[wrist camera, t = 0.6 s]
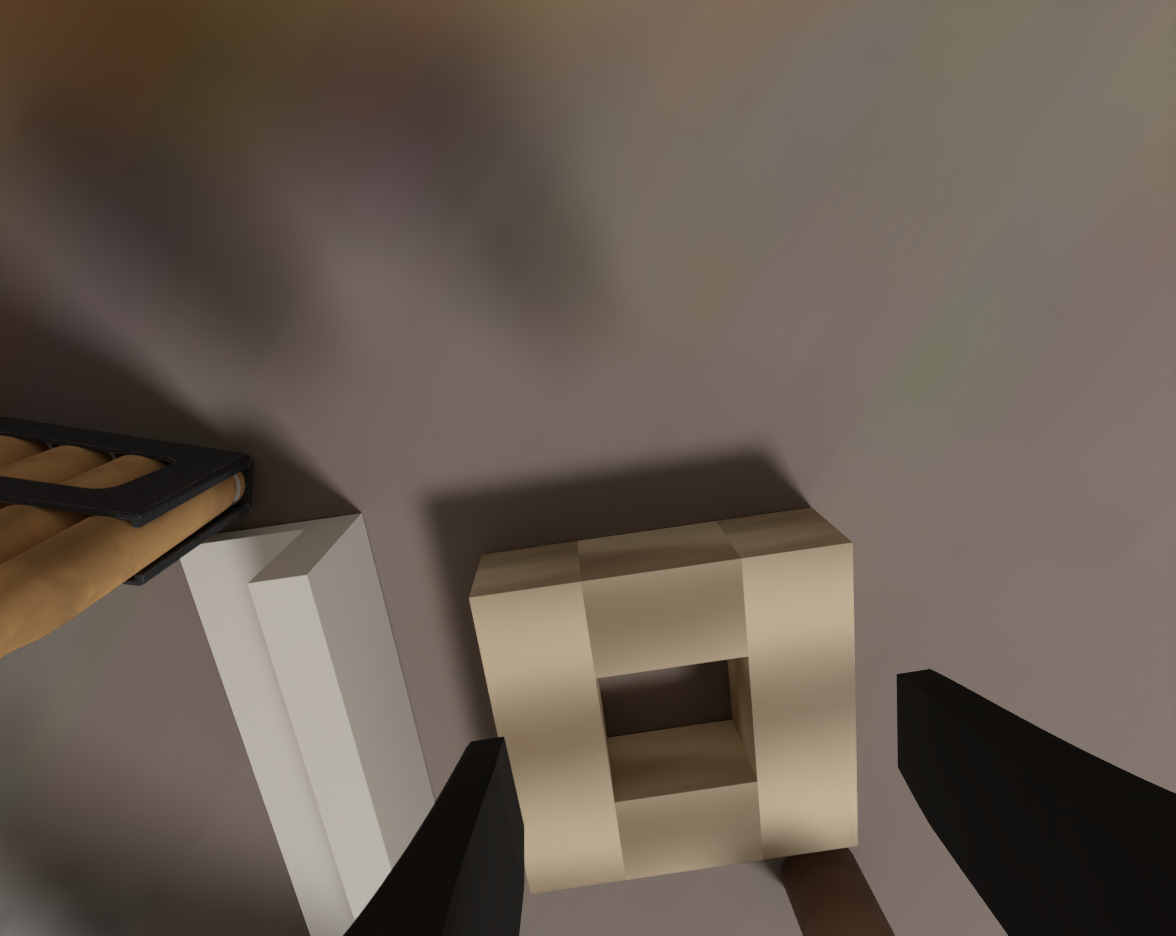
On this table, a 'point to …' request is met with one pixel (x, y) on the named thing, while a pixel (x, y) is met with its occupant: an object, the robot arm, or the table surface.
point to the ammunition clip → (100, 517)
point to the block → (664, 640)
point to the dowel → (832, 895)
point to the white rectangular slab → (316, 703)
